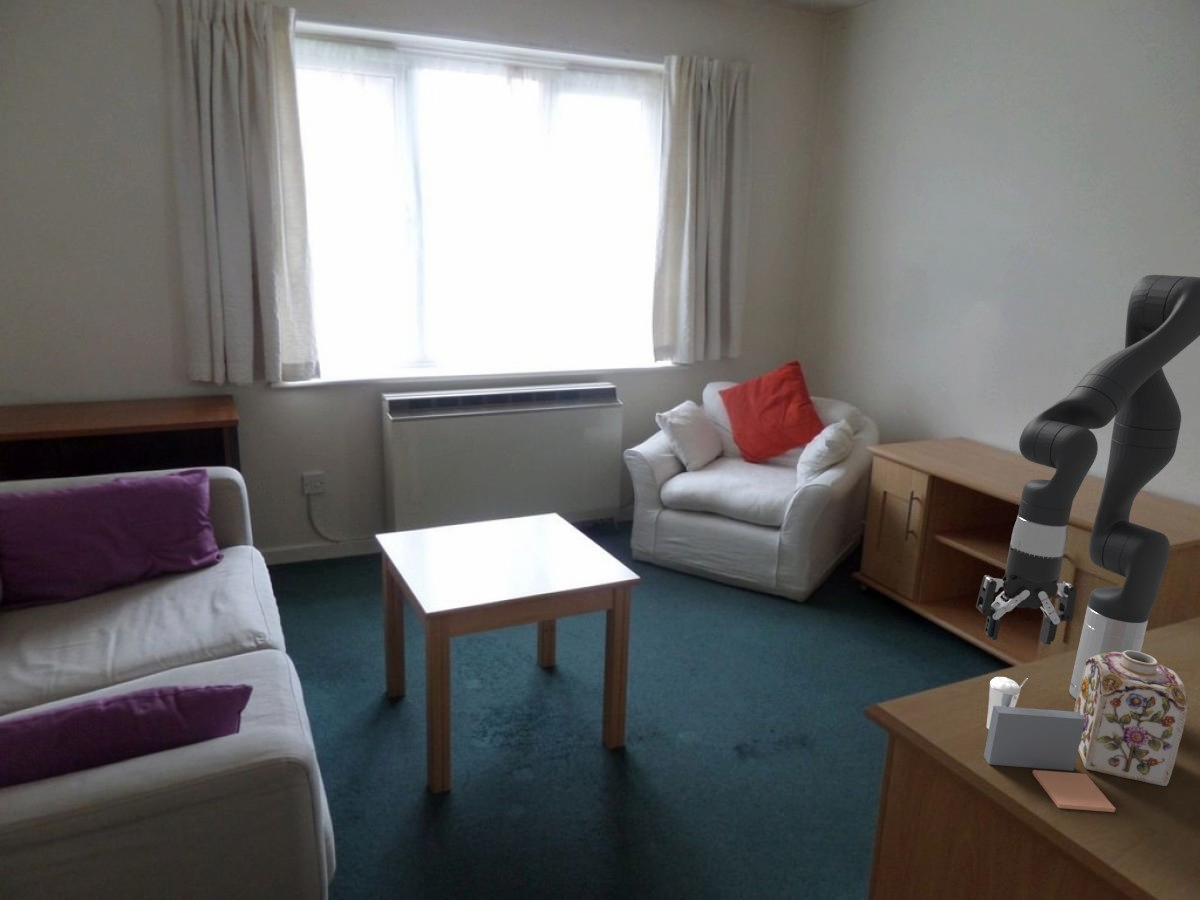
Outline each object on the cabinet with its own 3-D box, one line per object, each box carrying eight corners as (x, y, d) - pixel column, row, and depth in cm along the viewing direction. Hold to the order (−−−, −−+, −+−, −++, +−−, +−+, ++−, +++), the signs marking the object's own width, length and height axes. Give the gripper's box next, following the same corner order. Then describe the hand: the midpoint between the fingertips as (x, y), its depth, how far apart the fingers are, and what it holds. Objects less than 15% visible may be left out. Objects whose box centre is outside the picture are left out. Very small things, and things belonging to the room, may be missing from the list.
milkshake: (1020, 739, 135) (1031, 685, 133) (985, 734, 136) (996, 680, 134) (1012, 724, 139) (1023, 671, 137) (979, 719, 140) (989, 666, 138)
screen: (1067, 762, 129) (1078, 712, 127) (1073, 770, 128) (1085, 719, 125) (983, 756, 130) (993, 705, 128) (988, 764, 128) (998, 712, 126)
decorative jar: (1082, 770, 128) (1106, 665, 124) (1067, 730, 139) (1088, 633, 134) (1171, 789, 124) (1199, 682, 120) (1148, 747, 135) (1173, 647, 131)
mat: (1085, 777, 126) (1086, 773, 126) (1114, 812, 118) (1115, 808, 118) (1032, 773, 126) (1033, 769, 126) (1058, 807, 119) (1059, 804, 118)
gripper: (1070, 541, 133) (1050, 633, 137) (981, 535, 133) (964, 626, 137) (1095, 558, 126) (1074, 655, 130) (1001, 551, 126) (982, 647, 130)
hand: (1017, 640), depth 133 cm, fingers open, 8 cm apart
